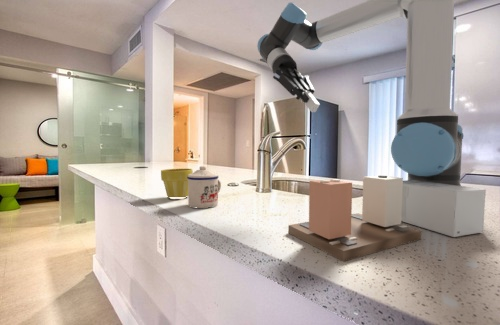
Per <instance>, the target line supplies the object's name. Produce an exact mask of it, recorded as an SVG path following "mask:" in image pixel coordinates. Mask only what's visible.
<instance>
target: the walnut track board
mask: <svg viewBox="0 0 500 325" xmlns="http://www.w3.org/2000/svg"><path fill="white" fill-rule="evenodd" d="M287 228H288V229H287V230H288V231H287V232H288V234H290V235H292V236H294V237H296V238H298V239H300V240H301V241H303V242H305V243H307V244H309V245H311V246H313V247H315V248H317V249H319V250H321V251H323V252H325V253H327V254H328V255H330V256H333V257H334V258H336V259H338V260H340V261H342V262H347V261H349V260H353V259H357V258H360V257H363V256H367V255H370V254H374V253H378V252H380V251H384V250H389V249H391V248H394V247H398V246H403V245H405V244H409V243H413V242H417V241H419V240H421V239H422V230H420V229H416V228H412V227H409V226H407V225H404V224H403V225H402V224H397V225H392V226H388V227H383V226H380V225H376V224H373V223H370V222H366V221H363V220H362V213H358V212H356V213H351V235H347V236H343V237H338V238H334V239H327V238H325V237H322V236H320V235H318V234H316V233H313V232H311V231H309V221H304V222H300V223H292V224H288V227H287Z"/></svg>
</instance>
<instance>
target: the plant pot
mask: <svg viewBox="0 0 500 325" xmlns="http://www.w3.org/2000/svg"><path fill="white" fill-rule="evenodd" d="M192 173H194V172H193V169H192V168H184V167H183V168H167V169H161V170H160V177H161V181H162V182H163V184H164V189H165V192H166V196H168V197H186V196H188V178H187V177H188V175H189V174H192ZM168 197H167V198H168Z"/></svg>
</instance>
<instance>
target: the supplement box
mask: <svg viewBox="0 0 500 325" xmlns="http://www.w3.org/2000/svg"><path fill="white" fill-rule="evenodd" d="M486 191H487V189H486V188H485V189H484V188H479V187H473V186H472V187H471V186H464V185H461V186H457V185H449V184H441V183H434V182H426V181H418V180H408V179H407V180H403V188H402V216H401V223H402V222H403V223H406V224H410V225H413V226H416V227H419V228H422V229H426V230H429V231H432V232H435V233H439V234H442V235H446V236H449V237H452V238H456V237H457V238H458V237H462V236H467V235H474V234H480V233H484V228H485V227H484V225H485V222H484V221H485V206H486V204H485V203H486V193H487V192H486Z"/></svg>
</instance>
